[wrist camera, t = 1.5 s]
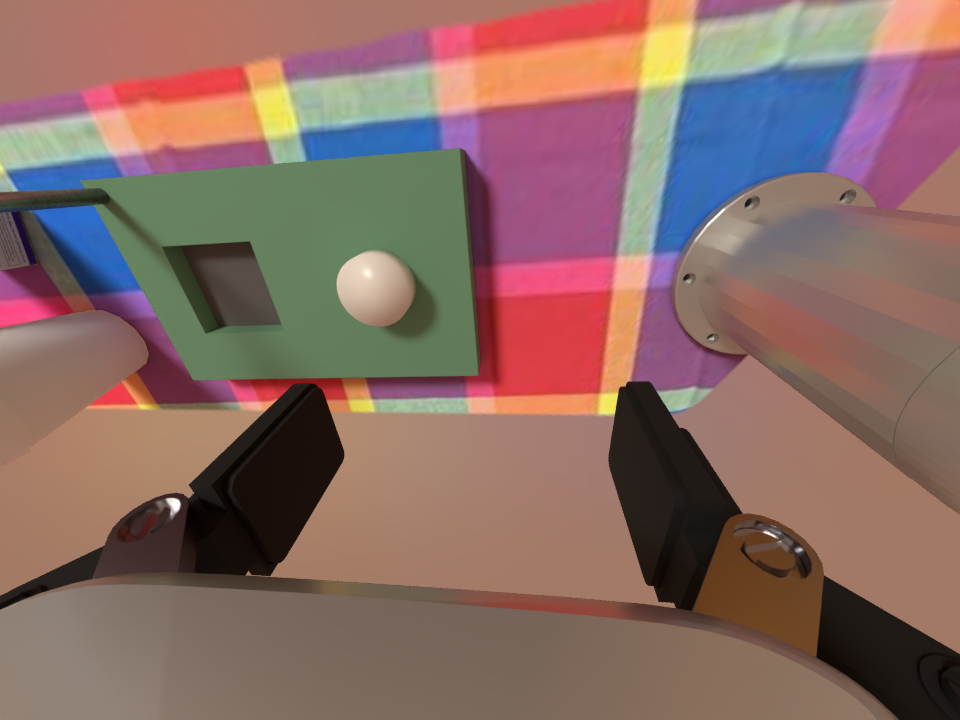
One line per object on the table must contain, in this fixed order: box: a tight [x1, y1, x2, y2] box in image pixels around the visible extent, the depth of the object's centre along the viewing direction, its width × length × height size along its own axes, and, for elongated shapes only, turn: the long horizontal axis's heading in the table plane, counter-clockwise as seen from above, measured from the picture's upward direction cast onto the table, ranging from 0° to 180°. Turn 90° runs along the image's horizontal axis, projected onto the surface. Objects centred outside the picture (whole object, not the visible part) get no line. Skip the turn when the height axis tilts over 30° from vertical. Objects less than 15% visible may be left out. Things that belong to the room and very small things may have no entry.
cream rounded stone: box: [337, 249, 416, 327], centre depth 24 cm, size 5×5×2 cm
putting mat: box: [0, 148, 481, 380], centre depth 19 cm, size 29×16×20 cm, turn 94°
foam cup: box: [0, 310, 149, 469], centre depth 27 cm, size 10×9×13 cm
